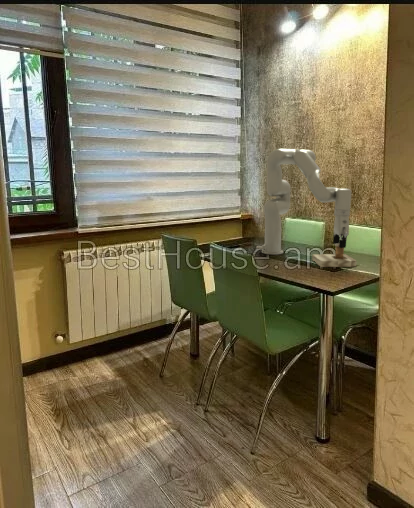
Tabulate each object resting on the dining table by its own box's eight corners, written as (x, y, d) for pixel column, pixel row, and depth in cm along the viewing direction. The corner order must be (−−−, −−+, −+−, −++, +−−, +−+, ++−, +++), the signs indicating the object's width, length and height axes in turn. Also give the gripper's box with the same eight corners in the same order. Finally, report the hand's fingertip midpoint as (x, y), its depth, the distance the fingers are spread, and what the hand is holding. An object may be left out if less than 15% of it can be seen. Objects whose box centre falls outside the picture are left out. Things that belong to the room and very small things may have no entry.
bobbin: (335, 264, 212) (336, 245, 210) (332, 261, 217) (333, 243, 215) (345, 264, 212) (346, 245, 210) (342, 261, 217) (343, 243, 215)
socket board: (320, 266, 206) (321, 261, 206) (312, 259, 222) (312, 254, 221) (356, 266, 206) (356, 260, 206) (345, 259, 222) (345, 254, 222)
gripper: (355, 215, 200) (352, 249, 204) (343, 210, 217) (340, 242, 221) (340, 215, 200) (337, 249, 204) (329, 210, 217) (327, 242, 221)
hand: (339, 245), depth 213 cm, fingers open, 9 cm apart
